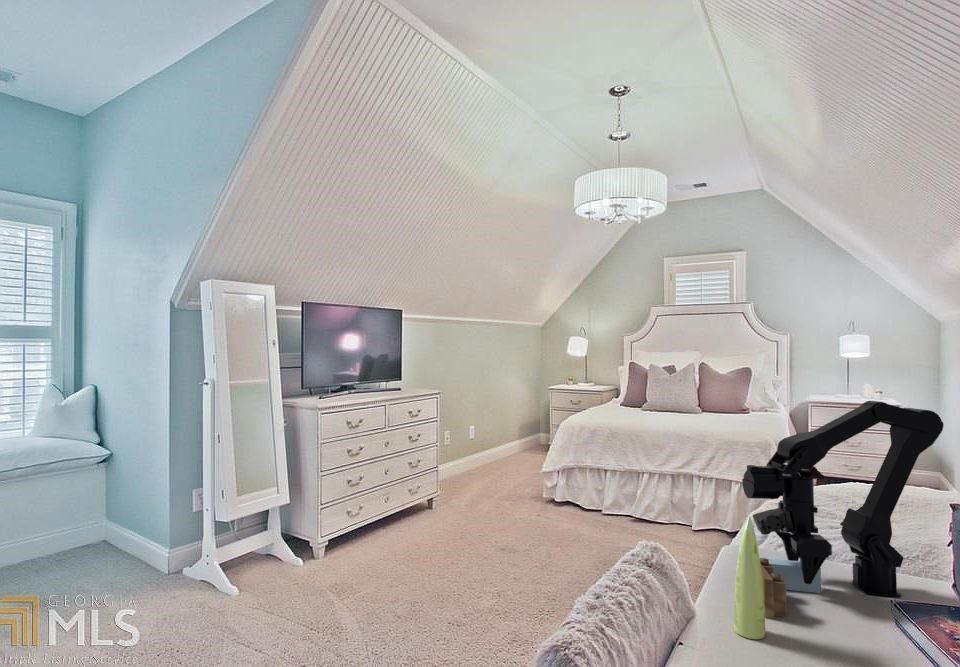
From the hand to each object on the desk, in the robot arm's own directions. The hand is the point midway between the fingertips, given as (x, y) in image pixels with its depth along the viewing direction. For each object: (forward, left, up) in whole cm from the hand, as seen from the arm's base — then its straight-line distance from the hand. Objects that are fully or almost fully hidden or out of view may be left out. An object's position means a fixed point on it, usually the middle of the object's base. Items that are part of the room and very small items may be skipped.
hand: (799, 575), depth 115 cm
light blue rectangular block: (+3, 0, -3) cm, 4 cm away
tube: (+15, +24, -3) cm, 28 cm away
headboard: (+9, +10, -3) cm, 13 cm away
